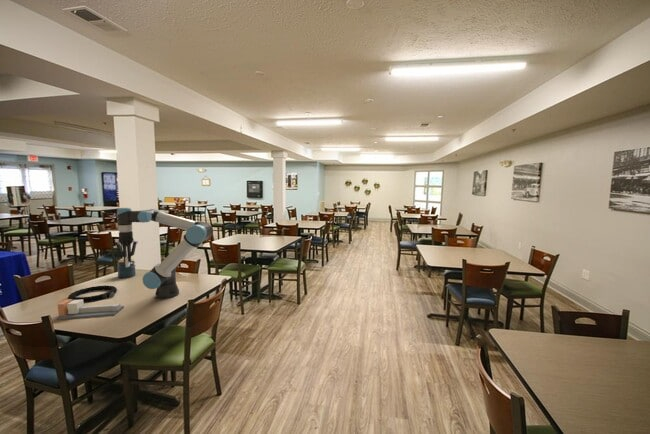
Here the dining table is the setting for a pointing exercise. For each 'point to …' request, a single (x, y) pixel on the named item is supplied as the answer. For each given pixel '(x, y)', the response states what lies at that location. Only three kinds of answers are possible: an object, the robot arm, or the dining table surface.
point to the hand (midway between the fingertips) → (127, 266)
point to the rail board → (90, 314)
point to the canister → (126, 269)
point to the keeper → (74, 306)
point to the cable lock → (97, 297)
